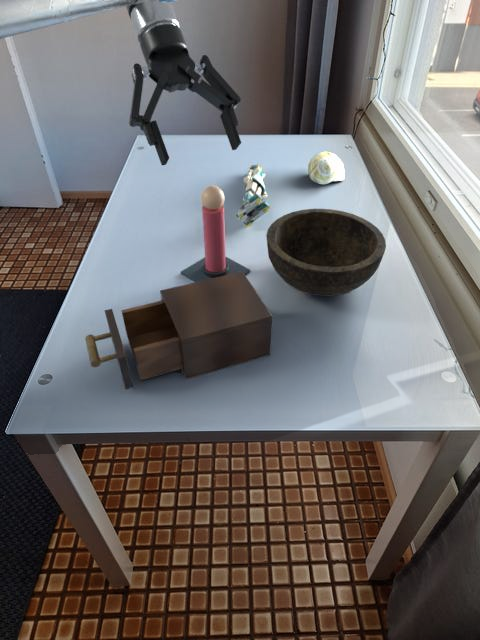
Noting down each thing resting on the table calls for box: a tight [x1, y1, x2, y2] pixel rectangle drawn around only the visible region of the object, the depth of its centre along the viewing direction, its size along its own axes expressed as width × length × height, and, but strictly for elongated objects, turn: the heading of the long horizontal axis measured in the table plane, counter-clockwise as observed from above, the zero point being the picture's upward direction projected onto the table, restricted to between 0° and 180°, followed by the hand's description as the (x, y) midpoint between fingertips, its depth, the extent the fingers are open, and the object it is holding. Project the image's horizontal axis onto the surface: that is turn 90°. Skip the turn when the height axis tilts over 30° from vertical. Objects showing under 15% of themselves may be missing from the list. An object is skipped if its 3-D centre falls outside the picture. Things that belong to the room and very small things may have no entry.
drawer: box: [84, 300, 184, 390], centre depth 75 cm, size 17×11×7 cm, turn 111°
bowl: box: [265, 208, 387, 297], centre depth 90 cm, size 22×22×10 cm
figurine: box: [235, 164, 271, 228], centre depth 117 cm, size 7×8×30 cm
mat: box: [180, 256, 252, 283], centre depth 95 cm, size 10×10×1 cm
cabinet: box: [159, 271, 274, 380], centre depth 78 cm, size 15×13×9 cm
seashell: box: [307, 151, 345, 185], centre depth 125 cm, size 10×10×10 cm
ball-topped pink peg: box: [200, 185, 229, 278], centre depth 89 cm, size 5×5×18 cm
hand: (202, 154), depth 81 cm, fingers open, 13 cm apart
